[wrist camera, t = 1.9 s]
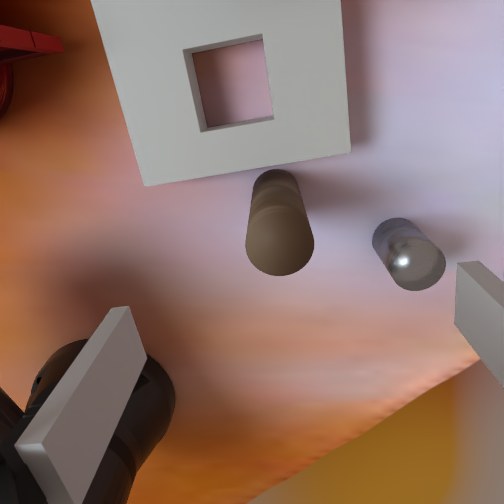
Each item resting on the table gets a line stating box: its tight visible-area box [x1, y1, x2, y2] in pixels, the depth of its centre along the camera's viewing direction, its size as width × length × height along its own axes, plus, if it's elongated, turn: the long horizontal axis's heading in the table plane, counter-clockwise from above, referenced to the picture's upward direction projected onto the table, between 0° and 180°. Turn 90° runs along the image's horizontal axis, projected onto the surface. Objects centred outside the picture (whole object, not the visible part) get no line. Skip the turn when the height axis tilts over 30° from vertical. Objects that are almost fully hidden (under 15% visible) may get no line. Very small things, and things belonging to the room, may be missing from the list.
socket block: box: [91, 0, 351, 187], centre depth 20 cm, size 16×20×18 cm
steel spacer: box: [372, 218, 446, 291], centre depth 32 cm, size 4×4×6 cm
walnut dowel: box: [245, 169, 314, 276], centre depth 28 cm, size 4×4×12 cm
